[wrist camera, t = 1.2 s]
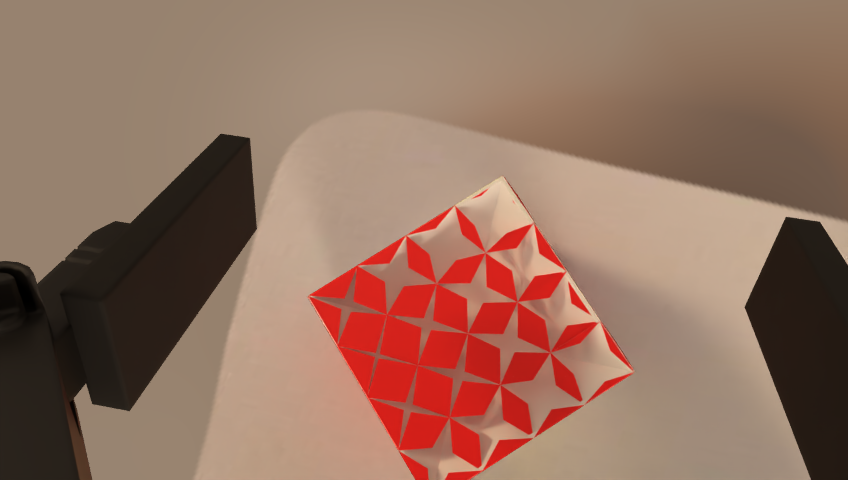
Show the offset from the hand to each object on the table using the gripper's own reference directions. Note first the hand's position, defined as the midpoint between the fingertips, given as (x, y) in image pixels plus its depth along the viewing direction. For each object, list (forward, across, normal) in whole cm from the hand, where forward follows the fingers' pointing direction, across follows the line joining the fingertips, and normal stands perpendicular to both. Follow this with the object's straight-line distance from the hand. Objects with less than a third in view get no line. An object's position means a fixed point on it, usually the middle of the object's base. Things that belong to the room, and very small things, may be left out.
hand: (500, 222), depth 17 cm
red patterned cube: (+8, 0, -12) cm, 14 cm away
